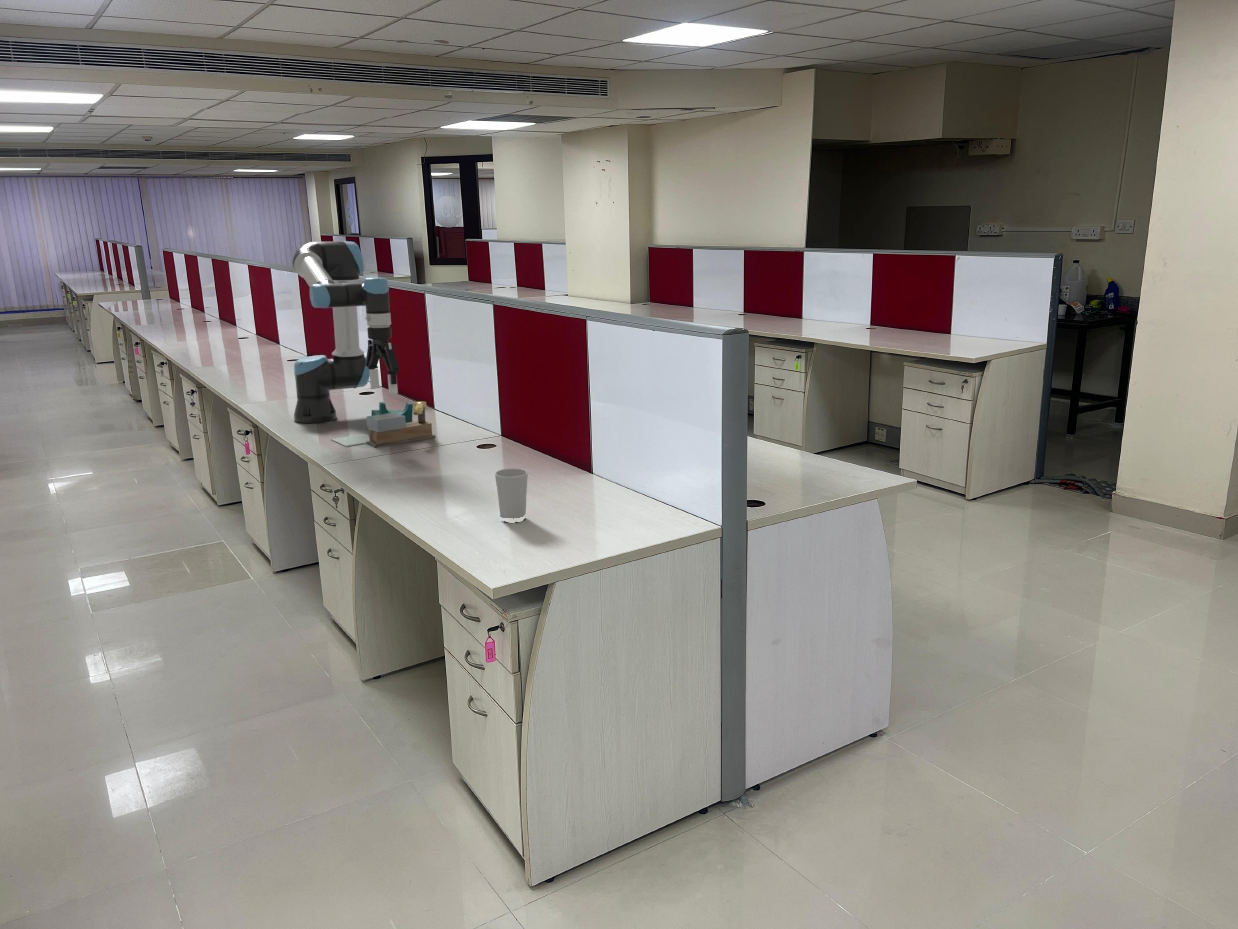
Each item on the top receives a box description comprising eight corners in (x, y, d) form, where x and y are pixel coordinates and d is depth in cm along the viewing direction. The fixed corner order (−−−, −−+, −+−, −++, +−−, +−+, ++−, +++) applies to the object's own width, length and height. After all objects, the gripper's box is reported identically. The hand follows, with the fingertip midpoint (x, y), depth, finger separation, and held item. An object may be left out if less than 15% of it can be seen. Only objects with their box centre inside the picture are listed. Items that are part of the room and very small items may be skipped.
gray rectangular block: (367, 428, 294) (366, 416, 293) (395, 424, 301) (394, 412, 300) (377, 432, 289) (377, 420, 287) (406, 428, 295) (405, 416, 294)
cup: (497, 514, 222) (495, 468, 219) (529, 513, 223) (528, 467, 220) (496, 525, 215) (494, 477, 212) (529, 524, 215) (527, 476, 212)
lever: (412, 415, 290) (411, 409, 290) (416, 407, 303) (415, 401, 302) (423, 415, 291) (422, 409, 290) (426, 407, 303) (426, 401, 303)
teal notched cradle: (411, 433, 312) (412, 404, 310) (380, 433, 307) (381, 404, 305) (401, 423, 328) (401, 395, 325) (371, 423, 323) (371, 395, 321)
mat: (331, 440, 299) (331, 439, 299) (365, 435, 307) (364, 433, 307) (346, 446, 290) (346, 445, 290) (380, 441, 298) (380, 440, 298)
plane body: (366, 443, 295) (364, 414, 292) (425, 433, 308) (424, 406, 306) (375, 447, 290) (373, 418, 287) (435, 437, 303) (434, 409, 301)
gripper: (352, 324, 293) (357, 387, 298) (385, 330, 274) (390, 397, 280) (373, 322, 297) (378, 385, 303) (407, 328, 279) (412, 394, 284)
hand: (384, 391), depth 291 cm, fingers open, 13 cm apart
